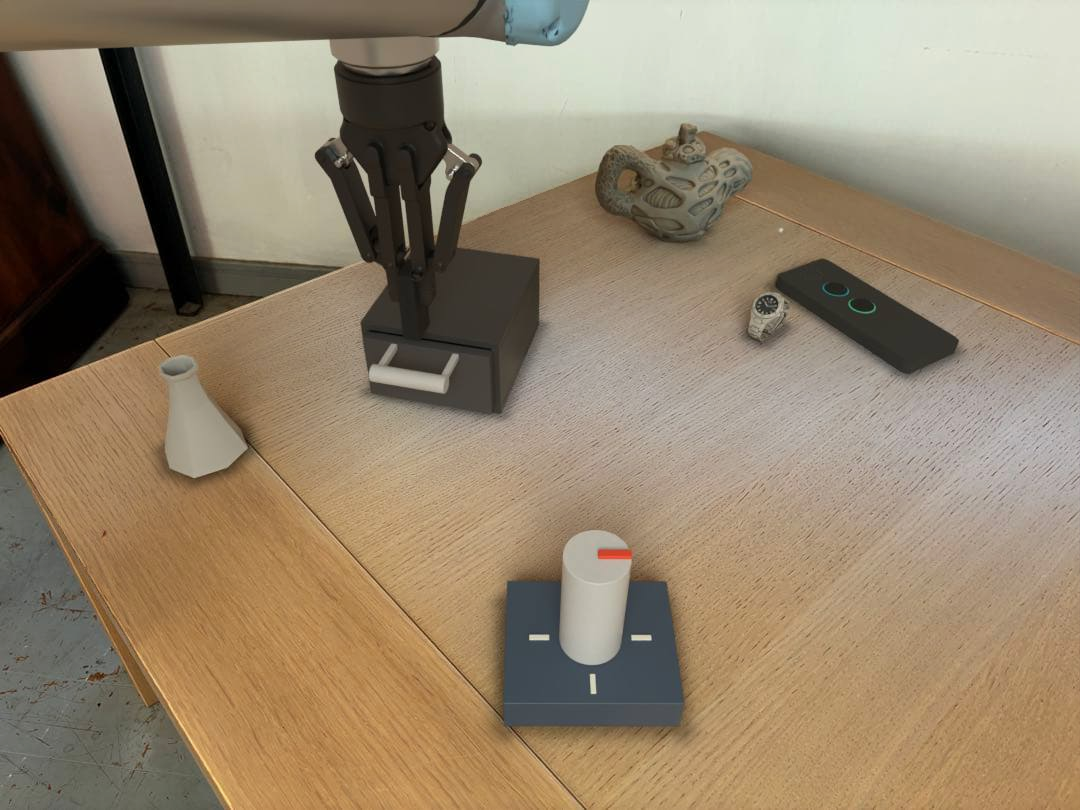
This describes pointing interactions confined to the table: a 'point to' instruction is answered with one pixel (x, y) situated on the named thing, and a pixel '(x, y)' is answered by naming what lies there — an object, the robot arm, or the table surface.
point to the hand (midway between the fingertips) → (416, 331)
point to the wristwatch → (767, 315)
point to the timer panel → (590, 690)
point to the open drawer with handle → (430, 371)
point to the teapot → (673, 185)
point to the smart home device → (867, 315)
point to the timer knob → (593, 596)
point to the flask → (196, 423)
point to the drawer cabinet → (477, 310)
